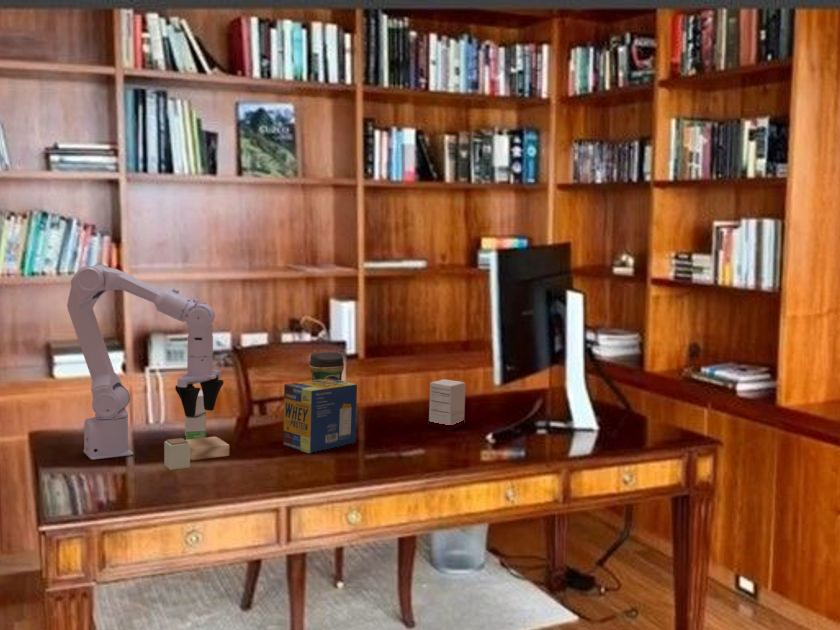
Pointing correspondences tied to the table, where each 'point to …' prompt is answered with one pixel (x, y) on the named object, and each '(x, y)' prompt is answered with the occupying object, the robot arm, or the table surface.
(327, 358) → the coffee jar
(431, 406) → the supplement box
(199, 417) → the ink box
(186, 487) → the table surface
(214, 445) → the maple block
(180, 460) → the sage box
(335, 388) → the protein box
